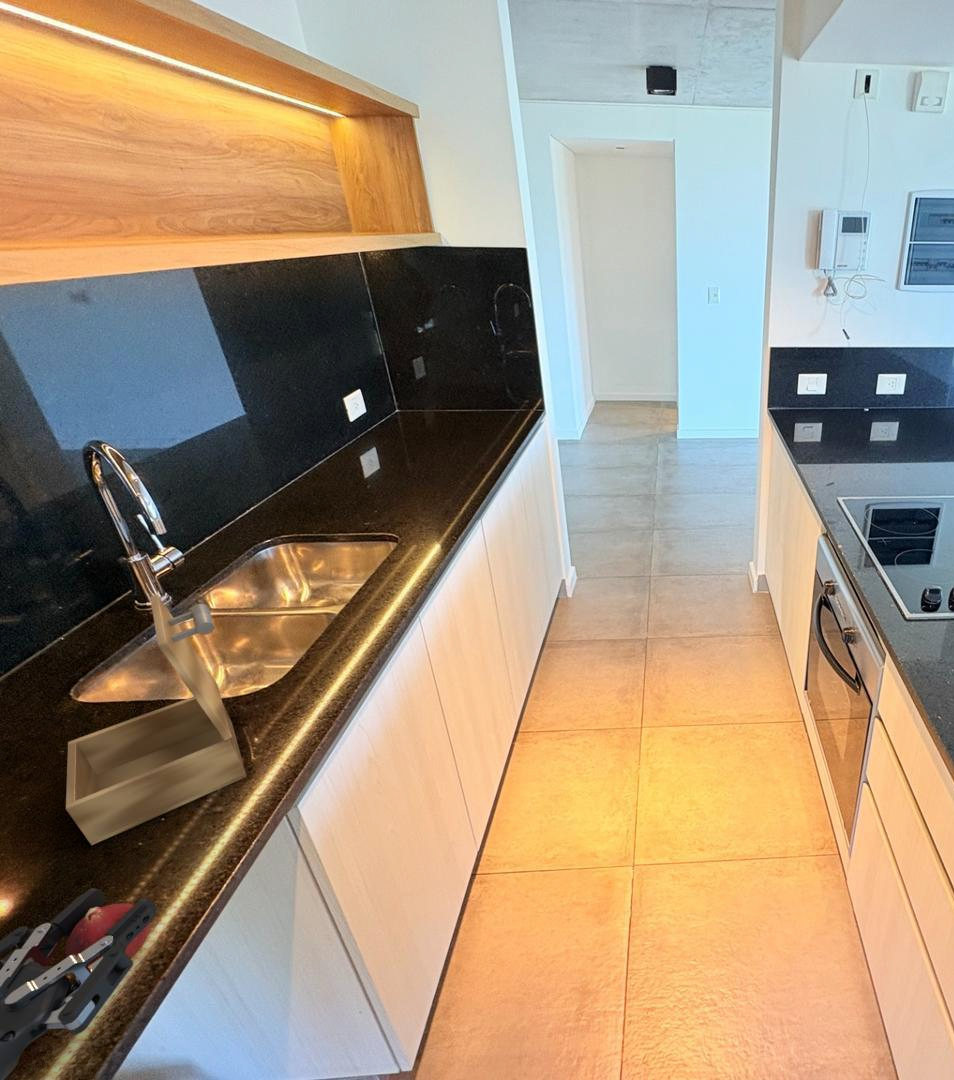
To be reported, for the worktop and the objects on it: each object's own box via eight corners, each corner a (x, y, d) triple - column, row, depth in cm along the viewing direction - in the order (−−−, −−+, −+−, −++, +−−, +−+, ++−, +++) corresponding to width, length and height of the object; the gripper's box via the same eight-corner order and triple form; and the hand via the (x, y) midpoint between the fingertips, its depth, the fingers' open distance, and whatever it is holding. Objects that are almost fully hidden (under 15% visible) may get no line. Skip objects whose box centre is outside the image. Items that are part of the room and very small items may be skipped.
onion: (110, 1000, 59) (71, 952, 56) (71, 978, 61) (31, 930, 57) (174, 940, 64) (143, 893, 61) (136, 922, 66) (104, 875, 62)
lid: (157, 645, 71) (209, 625, 74) (149, 596, 80) (196, 580, 83) (224, 740, 80) (268, 719, 83) (211, 687, 89) (251, 670, 92)
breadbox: (92, 847, 74) (65, 809, 71) (91, 778, 83) (67, 741, 80) (247, 778, 84) (229, 741, 80) (232, 723, 92) (215, 688, 89)
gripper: (-45, 1108, 45) (173, 886, 59) (-203, 1068, 46) (47, 862, 61) (8, 1151, 48) (201, 932, 63) (-141, 1113, 50) (81, 908, 65)
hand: (124, 898), depth 62 cm, fingers closed on onion, 5 cm apart
